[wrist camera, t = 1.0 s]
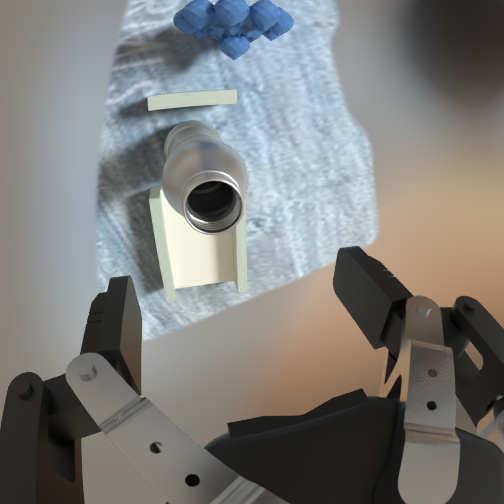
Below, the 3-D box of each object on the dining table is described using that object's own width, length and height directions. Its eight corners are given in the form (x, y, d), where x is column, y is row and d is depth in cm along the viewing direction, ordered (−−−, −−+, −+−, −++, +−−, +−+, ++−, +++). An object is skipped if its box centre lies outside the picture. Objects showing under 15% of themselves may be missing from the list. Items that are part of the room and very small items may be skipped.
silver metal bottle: (186, 107, 32) (200, 128, 15) (231, 140, 35) (290, 196, 18) (153, 151, 33) (134, 221, 17) (198, 181, 37) (225, 273, 20)
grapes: (172, 66, 29) (171, 54, 19) (173, 13, 25) (175, -20, 15) (272, 66, 31) (316, 60, 21) (274, 16, 28) (317, -9, 18)
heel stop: (150, 95, 30) (147, 96, 26) (229, 89, 32) (236, 89, 28) (151, 108, 31) (148, 110, 27) (229, 101, 33) (236, 103, 29)
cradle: (151, 187, 36) (148, 199, 32) (238, 178, 38) (245, 188, 35) (166, 284, 43) (167, 302, 40) (240, 274, 45) (246, 291, 42)
